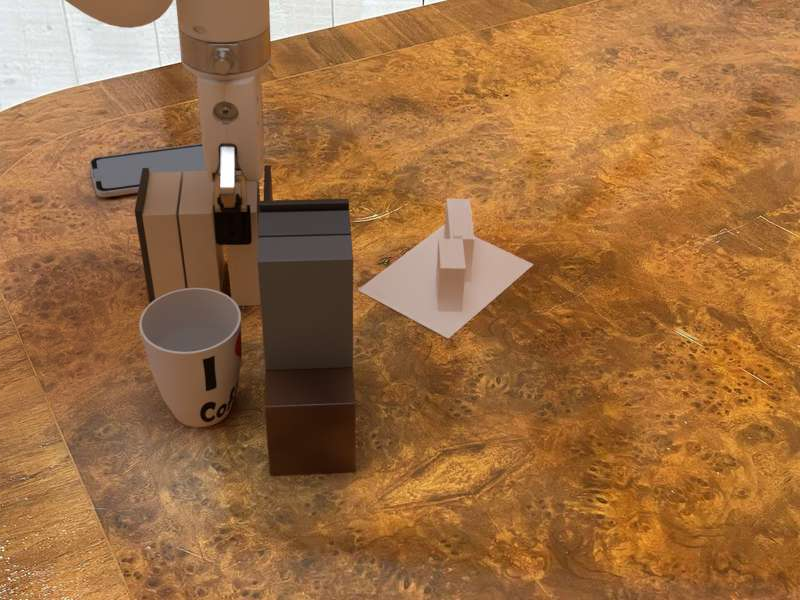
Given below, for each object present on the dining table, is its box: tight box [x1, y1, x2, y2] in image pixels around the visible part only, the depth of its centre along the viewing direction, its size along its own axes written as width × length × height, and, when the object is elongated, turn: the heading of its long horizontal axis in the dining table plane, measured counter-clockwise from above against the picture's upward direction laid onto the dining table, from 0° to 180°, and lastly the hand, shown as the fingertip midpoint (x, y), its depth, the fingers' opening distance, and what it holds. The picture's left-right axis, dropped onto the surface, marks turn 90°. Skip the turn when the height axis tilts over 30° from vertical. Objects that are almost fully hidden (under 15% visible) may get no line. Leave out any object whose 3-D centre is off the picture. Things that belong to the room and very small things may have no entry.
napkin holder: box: [357, 198, 535, 340], centre depth 105 cm, size 15×11×6 cm
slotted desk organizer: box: [134, 164, 274, 305], centre depth 102 cm, size 12×7×12 cm, turn 95°
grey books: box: [257, 198, 354, 371], centre depth 84 cm, size 7×7×12 cm
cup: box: [138, 288, 243, 428], centre depth 89 cm, size 8×8×10 cm
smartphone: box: [89, 142, 220, 198], centre depth 120 cm, size 7×1×15 cm
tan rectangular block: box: [225, 170, 261, 307], centre depth 102 cm, size 7×3×11 cm, turn 5°
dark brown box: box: [264, 366, 357, 476], centre depth 89 cm, size 7×12×8 cm, turn 5°
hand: (235, 211), depth 100 cm, fingers open, 9 cm apart
